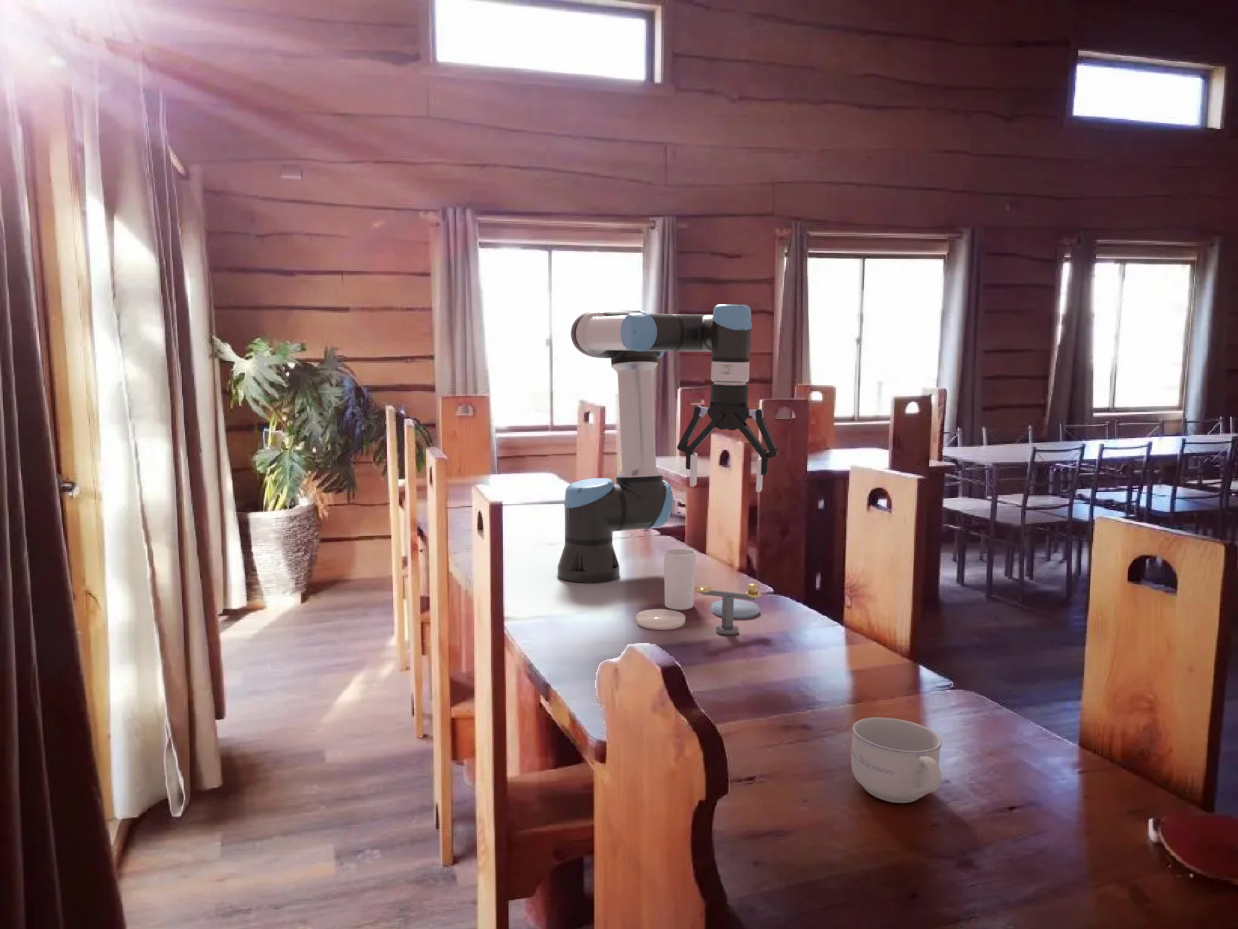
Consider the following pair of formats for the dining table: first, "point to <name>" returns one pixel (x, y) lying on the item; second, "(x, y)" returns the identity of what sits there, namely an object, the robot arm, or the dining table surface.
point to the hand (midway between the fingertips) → (725, 488)
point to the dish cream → (660, 619)
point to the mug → (679, 578)
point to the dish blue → (738, 609)
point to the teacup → (895, 758)
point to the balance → (729, 605)
